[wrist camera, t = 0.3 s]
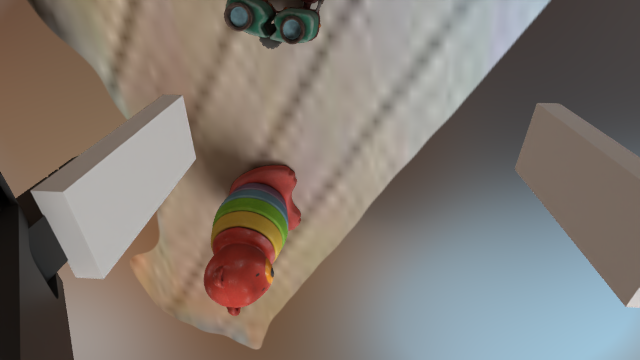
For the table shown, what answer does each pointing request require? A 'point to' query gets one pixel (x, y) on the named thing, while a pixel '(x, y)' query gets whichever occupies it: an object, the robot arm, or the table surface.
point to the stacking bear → (250, 236)
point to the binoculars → (290, 24)
